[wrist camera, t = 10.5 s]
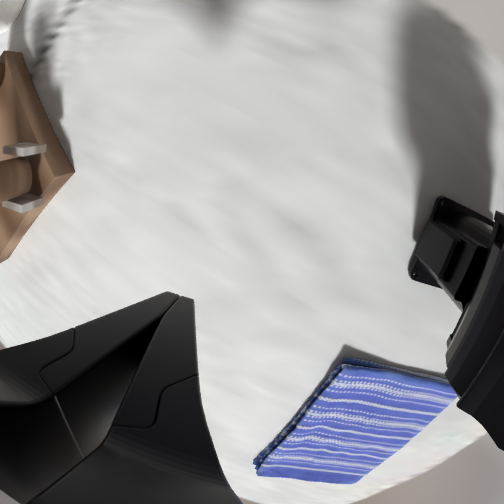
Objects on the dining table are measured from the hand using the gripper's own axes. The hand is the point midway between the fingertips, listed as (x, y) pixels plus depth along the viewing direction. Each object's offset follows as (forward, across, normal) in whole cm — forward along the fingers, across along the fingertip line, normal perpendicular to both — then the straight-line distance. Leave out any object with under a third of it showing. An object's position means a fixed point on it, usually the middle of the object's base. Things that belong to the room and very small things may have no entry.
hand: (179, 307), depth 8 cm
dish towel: (+13, -18, +22) cm, 31 cm away
